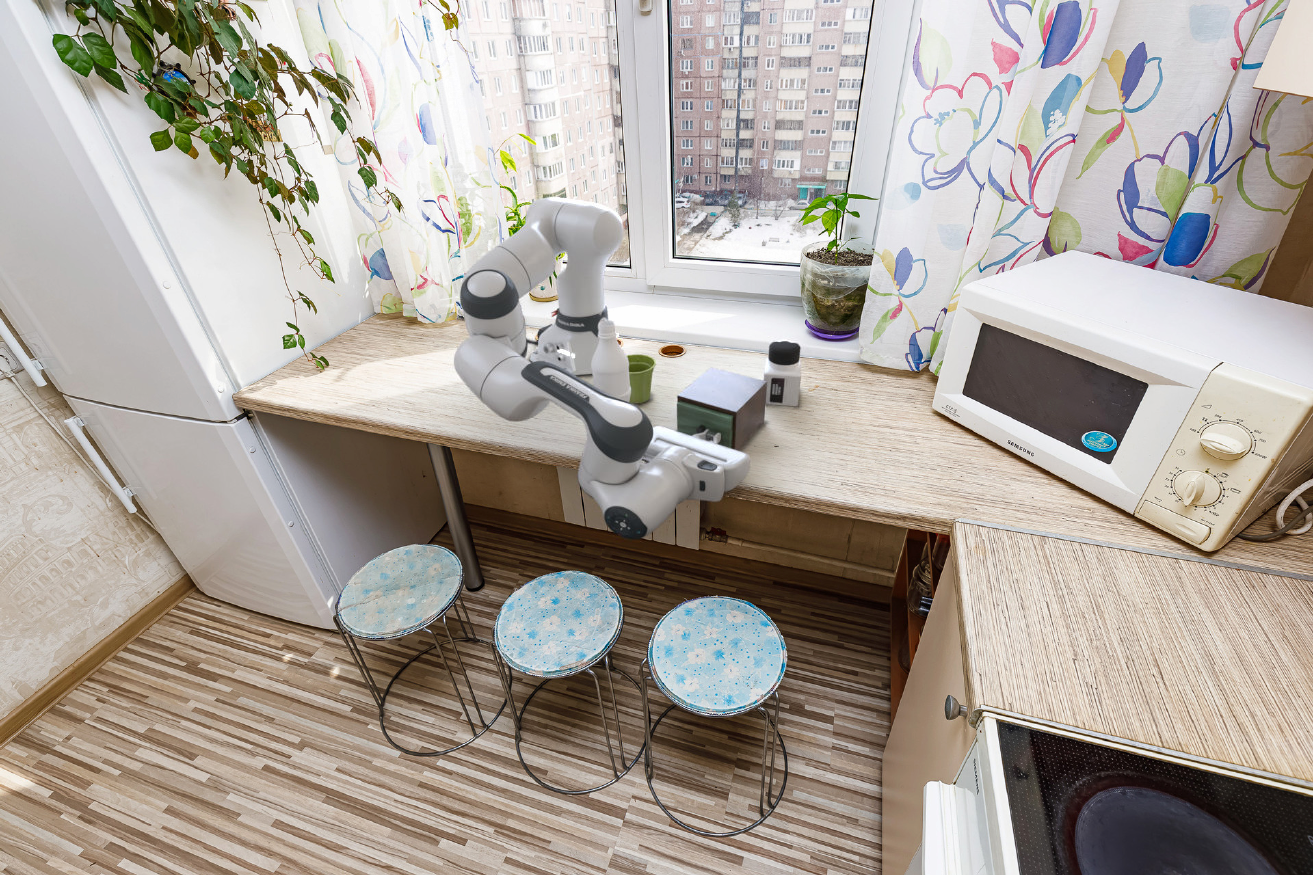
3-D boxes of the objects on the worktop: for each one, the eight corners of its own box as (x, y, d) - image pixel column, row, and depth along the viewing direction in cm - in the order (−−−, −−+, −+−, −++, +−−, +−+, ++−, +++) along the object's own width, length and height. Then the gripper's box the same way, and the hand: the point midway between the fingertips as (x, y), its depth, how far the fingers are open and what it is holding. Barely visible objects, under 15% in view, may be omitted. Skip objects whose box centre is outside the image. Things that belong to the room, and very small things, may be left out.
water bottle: (617, 425, 127) (608, 313, 113) (641, 438, 122) (634, 322, 108) (591, 439, 122) (578, 324, 109) (614, 452, 118) (604, 335, 104)
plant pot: (607, 399, 136) (604, 364, 131) (636, 383, 142) (634, 350, 137) (636, 412, 131) (634, 377, 126) (665, 396, 136) (664, 361, 132)
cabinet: (734, 455, 116) (736, 412, 111) (677, 437, 122) (677, 395, 117) (764, 422, 126) (767, 381, 120) (710, 407, 132) (711, 367, 126)
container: (797, 407, 130) (803, 352, 123) (761, 404, 132) (765, 350, 125) (797, 390, 137) (803, 337, 130) (763, 387, 138) (767, 335, 131)
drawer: (726, 457, 114) (727, 421, 110) (674, 440, 120) (673, 405, 115) (757, 423, 124) (759, 389, 119) (707, 409, 129) (707, 376, 125)
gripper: (628, 468, 111) (667, 433, 120) (727, 505, 101) (762, 463, 111) (626, 440, 107) (667, 406, 117) (728, 475, 98) (764, 434, 107)
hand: (714, 434), depth 114 cm, fingers closed
